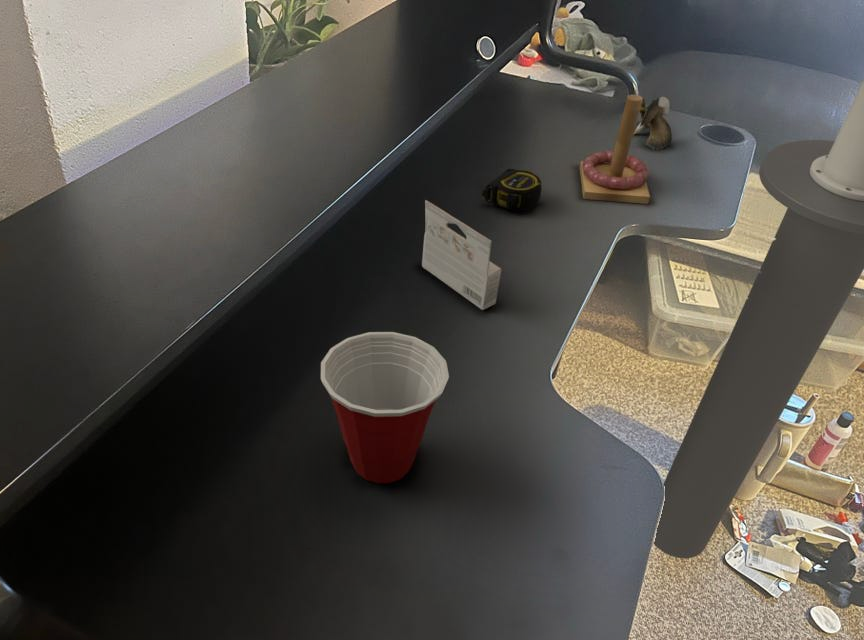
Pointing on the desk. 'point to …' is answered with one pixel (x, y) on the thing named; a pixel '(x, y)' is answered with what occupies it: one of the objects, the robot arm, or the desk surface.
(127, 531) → the desk surface
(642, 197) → the stand
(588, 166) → the ring
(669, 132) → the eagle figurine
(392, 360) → the plastic cup
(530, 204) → the tape measure
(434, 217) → the ink cartridge box
